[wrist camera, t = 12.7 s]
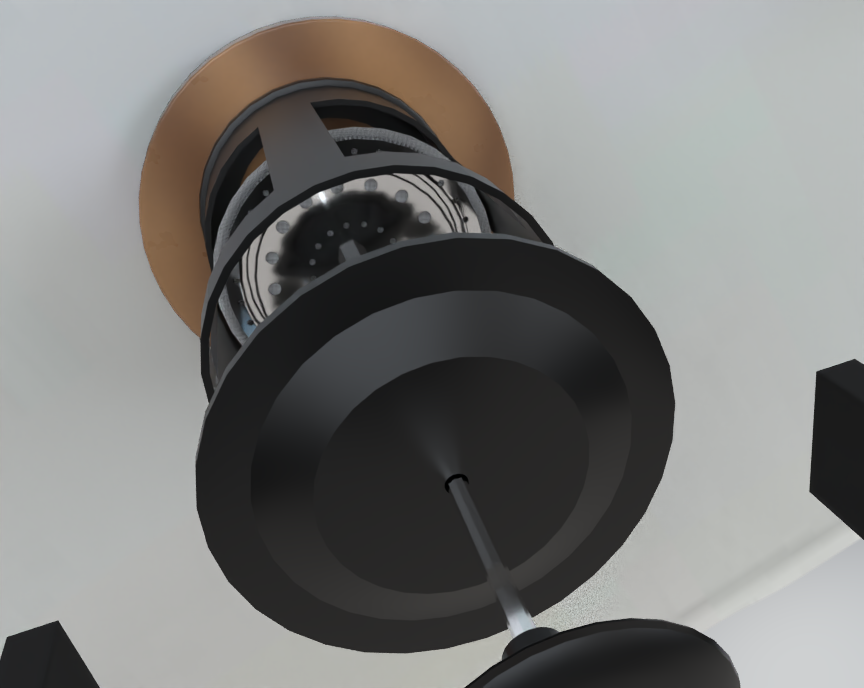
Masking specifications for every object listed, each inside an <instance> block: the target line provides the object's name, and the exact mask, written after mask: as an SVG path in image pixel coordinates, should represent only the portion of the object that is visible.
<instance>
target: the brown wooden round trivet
mask: <svg viewBox="0 0 864 688" xmlns="http://www.w3.org/2000/svg"><path fill="white" fill-rule="evenodd" d="M321 77H332V78H345V79H353V80H357V81H360V82H364V83H367V84H371V85H374V86H377V87H379V88H381V89H383V90H385V91H387V92H389V93H390V94H392V95H394V96H396V97H398V98H400V99H401V100H402V101H404V102H405V103H406V104H407V105H408V106H410V107H411V108H412V109H413V110H414V111H416V112H417V113H418V114H419V115H420V116H422V118H423V119H424V120H425V121H426V123H427V124H428V125H429V126H430V128H431V129H432V130H433V131H434V133H435V134H436V135H437V137H438V139H439V140H440V142H441V143H442V144H443V145H444V147H445V148H446V149H447V150H448V152H449V153H450V154H451V155H452V157H453V158H454V159H455V160H457V161H458V162H459V163H460V164H461V165H462V166H464V167H465V168H467V169H469V170H471V171H473V172H475V173H477V174H479V175H481V176H483V177H485V178H487V179H488V180H489V181H491V182H492V183H493V184H494V185H495V186H497V187H498V188H499V189H500V190H502V191H503V192H504V193H505V194H506V195H508V196H509V197H510V198H511V199H512V200H514V185H513V173H512V168H511V163H510V159H509V154H508V150H507V147H506V144H505V141H504V138H503V136H502V133H501V130H500V127H499V126H498V124H497V122H496V120H495V118H494V116H493V114H492V112H491V110H490V108H489V106H488V105H487V103H486V102H485V101H484V99H483V98H482V96H481V95H480V93H479V92H478V91H477V89H476V88H475V86H474V85H473V84H472V83H471V82H470V81H469V80H468V79H467V78H466V77H465V76H464V75H463V74H462V72H461V71H460V70H459V69H458V68H457V67H455V66H454V65H453V64H452V63H450V62H449V61H448V60H447V59H446V58H444V57H443V56H442V55H441V54H439V53H438V52H436V51H435V50H433V49H431V48H430V47H428V46H427V45H425V44H423V43H422V42H420V41H418V40H417V39H414V38H412V37H410V36H407V35H405V34H403V33H400V32H398V31H396V30H393V29H391V28H389V27H386V26H383V25H379V24H375V23H371V22H368V21H364V20H359V19H351V18H343V17H306V18H300V19H294V20H288V21H282V22H279V23H276V24H272V25H269V26H266V27H263V28H260V29H257V30H255V31H252V32H250V33H248V34H246V35H244V36H242V37H240V38H238V39H236V40H234V41H232V42H230V43H229V44H227V45H226V46H224V47H223V48H221V49H220V50H219V51H217V52H216V53H214V54H213V55H211V56H210V57H209V58H208V59H207V60H205V61H204V62H203V63H202V64H201V65H200V66H199V67H198V68H197V69H195V70H194V71H193V72H192V73H191V74H190V75H189V77H188V78H187V79H186V80H185V81H184V83H183V84H182V85H181V86H180V87H179V89H178V90H177V91H176V92H175V93H174V95H173V97H172V98H171V100H170V102H169V103H168V105H167V106H166V108H165V110H164V111H163V113H162V115H161V116H160V119H159V121H158V123H157V126H156V128H155V131H154V133H153V135H152V138H151V140H150V143H149V146H148V149H147V153H146V157H145V161H144V165H143V169H142V173H141V182H140V191H139V217H140V227H141V233H142V239H143V244H144V249H145V252H146V255H147V258H148V261H149V264H150V267H151V270H152V272H153V274H154V277H155V279H156V281H157V283H158V285H159V287H160V289H161V291H162V293H163V294H164V296H165V297H166V299H167V300H168V302H169V303H170V305H171V306H172V308H173V309H174V311H175V312H176V313H177V315H178V316H179V317H180V318H181V319H182V320H183V321H184V323H185V324H186V325H187V326H188V327H189V328H190V329H191V330H192V331H193V332H194V333H195V334H196V335H197V336H198V337H200V336H201V314H202V309H203V304H204V299H205V294H206V289H207V284H208V280H209V278H210V275H211V269H210V265H209V260H208V256H207V252H206V248H205V241H204V237H203V232H202V228H201V224H200V209H199V192H200V187H201V182H202V176H203V171H204V167H205V164H206V162H207V160H208V157H209V155H210V153H211V150H212V148H213V146H214V143H215V142H216V140H217V139H218V138H219V136H220V135H221V133H222V132H223V130H224V129H225V128H226V126H227V125H228V123H229V122H230V121H231V120H232V119H233V118H234V117H235V116H236V115H237V114H238V113H239V112H241V111H242V110H243V109H244V108H245V107H246V106H247V105H248V104H249V103H251V102H252V101H254V100H256V99H257V98H259V97H261V96H262V95H264V94H266V93H267V92H269V91H271V90H272V89H275V88H278V87H281V86H284V85H286V84H289V83H292V82H295V81H298V80H305V79H313V78H321ZM321 121H322V122H323V124H324V125H325V127H326V128H327V130H334V129H341V128H348V127H367V128H374V127H372V126H370V125H368V124H365V123H361V122H358V121H354V120H350V119H341V118H323V119H321ZM264 161H266V157H265V153H264V149H263V148H262V149H260V150H259V152H258V153H257V155H256V156H255V157H254V159H253V160H252V162H251V163H250V164H249V166H248V168H247V170H246V172H245V175H244V177H243V179H242V182H241V184H240V187H241V185H242V184H243V183H244V181H245V180H246V178H247V177H248V176H249V175H250V174H251V173H252V172H254V171H255V170H256V169H257V168H258V167H259V166H260V165H261V164H262V163H263V162H264ZM491 233H493V232H492V231H491ZM210 347H211V332H210Z"/></svg>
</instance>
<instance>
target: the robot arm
mask: <svg viewBox="0 0 864 688" xmlns="http://www.w3.org/2000/svg"><path fill="white" fill-rule="evenodd" d="M809 492H810V493H812V494H813V495H814V496H815V497H816V498H817V499H818V500H819V501H821V502H822V503H823V504H824V505H825V506H826V507H827V508H828V509H830V510H831V511H832V512H833V513H834V514H835V515H836V516H837V517H839V518H840V519H841V520H842V521H843V522H844V523H845V524H846V525H848V526H849V527H850V528H851V529H852V530H853V531H854V532H855V533H857V534H858V535H859V536H860V537H861V538H862V539H863V540H864V364H862V363H860V362H859V361H857V360H856V359H853V360H850V361H847V362H844V363H841V364H838V365H835V366H832V367H829V368H826V369H823V370H820V371H817V372H816V388H815V405H814V423H813V440H812V457H811V474H810V491H809ZM0 688H100V687H99V686H98V684H97V682H96V681H95V679H94V678H93V676H92V674H91V673H90V671H89V670H88V668H87V666H86V665H85V663H84V661H83V660H82V658H81V657H80V655H79V653H78V652H77V650H76V649H75V647H74V645H73V644H72V642H71V640H70V639H69V637H68V636H67V634H66V632H65V631H64V629H63V628H62V626H61V624H60V623H59V621H55V622H52V623H49V624H46V625H43V626H40V627H37V628H34V629H31V630H27V631H24V632H21V633H18V634H15V635H12V636H9V637H7V639H6V642H5V646H4V649H3V652H2V656H1V659H0Z"/></svg>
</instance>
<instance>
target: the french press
mask: <svg viewBox="0 0 864 688" xmlns="http://www.w3.org/2000/svg"><path fill="white" fill-rule="evenodd" d="M323 118H341V119H350V120H354V121H358V122H361V123H365V124H368V125H370V126H372V127H374V128H367V127H348V128H341V129H334V130H327V128H326V127H325V125H324V124H323V122H322V121H321V119H323ZM262 148H263V149H264V153H265V157H266V161H264V162H263V163H262V164H261V165H260V166H259V167H258V168H257V169H256V170H255V171H254V172H252V173H251V174H250V175H249V176H248V177H247V178H246V180H245V181H244V183H243V184H242V185H241V187H240V184H241V182H242V179H243V177H244V175H245V172H246V170H247V168H248V166H249V164H250V163H251V162H252V160H253V159H254V157H255V156H256V155H257V153H258V152H259V150H260V149H262ZM199 209H200V224H201V228H202V232H203V237H204V241H205V248H206V252H207V256H208V260H209V265H210V269H211V275H210V278H209V280H208V284H207V289H206V294H205V299H204V304H203V309H202V314H201V336H200V342H201V375H202V379H203V383H204V386H205V390H206V394H207V398H208V402H209V405H208V407H207V409H206V411H205V416H204V420H203V425H202V430H201V434H200V439H199V444H198V448H197V453H196V499H197V511H198V514H199V518H200V521H201V525H202V528H203V531H204V535H205V538H206V542H207V545H208V548H209V550H210V551H211V553H212V555H213V556H214V558H215V560H216V562H217V563H218V565H219V567H220V568H221V570H222V572H223V573H224V575H225V577H226V578H227V580H228V582H229V583H230V584H231V585H232V586H233V587H234V588H235V589H236V590H237V591H238V592H239V593H240V594H241V595H242V596H243V597H244V598H245V599H246V600H247V601H248V602H249V603H250V604H251V605H252V606H253V607H254V608H255V609H256V610H258V611H259V612H261V613H262V614H264V615H266V616H267V617H269V618H270V619H272V620H273V621H275V622H276V623H278V624H280V625H281V626H283V627H284V628H286V629H287V630H289V631H292V632H294V633H297V634H299V635H302V636H305V637H307V638H310V639H312V640H315V641H318V642H320V643H323V644H325V645H330V646H335V647H341V648H346V649H351V650H356V651H361V652H374V653H413V652H422V651H430V650H438V649H446V648H450V647H454V646H458V645H462V644H465V643H469V642H473V641H477V640H480V639H484V638H488V637H490V636H492V635H495V634H497V633H500V632H502V631H504V630H507V629H509V631H510V633H511V636H512V638H513V639H512V640H511V641H510V642H509V644H508V645H507V646H506V648H505V650H504V652H503V655H502V661H500V662H498V663H497V664H495V665H493V666H492V667H490V668H489V669H488V670H487V671H485V672H484V673H483V674H481V675H480V676H479V677H478V678H476V679H475V680H474V681H473V682H471V683H470V684H469V685H467V686H466V687H465V688H740V681H739V677H738V673H737V671H736V669H735V667H734V665H733V663H732V661H731V659H730V657H729V655H728V654H727V653H726V652H725V651H724V650H723V649H722V648H721V647H720V646H719V645H718V644H717V643H716V642H715V641H714V640H713V639H711V638H709V637H707V636H705V635H704V634H702V633H700V632H698V631H696V630H695V629H693V628H690V627H687V626H683V625H680V624H676V623H672V622H668V621H664V620H657V619H636V618H628V619H620V620H611V621H603V622H595V623H592V624H588V625H584V626H581V627H577V628H573V629H569V630H566V631H562V632H558V631H557V630H554V629H552V628H548V627H539V628H537V627H536V625H535V623H534V621H533V619H532V618H533V617H534V616H536V615H538V614H539V613H541V612H543V611H545V610H546V609H548V608H550V607H551V606H553V605H555V604H556V603H558V602H560V601H562V600H563V599H564V598H565V597H567V596H568V595H569V594H570V593H572V592H573V591H574V590H576V589H577V588H578V587H579V586H581V585H582V584H583V583H584V582H586V581H587V580H588V579H590V578H591V577H592V576H593V575H594V574H595V573H596V572H597V571H598V570H599V569H600V568H601V567H602V566H603V565H604V564H605V563H606V562H607V561H608V560H609V559H610V558H611V557H612V556H613V555H614V554H615V552H616V551H617V550H618V549H619V548H620V547H621V546H622V545H623V543H624V542H625V541H626V539H627V538H628V536H629V535H630V534H631V532H632V531H633V529H634V528H635V527H636V525H637V524H638V522H639V521H640V519H641V518H642V517H643V515H644V514H645V512H646V510H647V508H648V506H649V504H650V502H651V500H652V497H653V495H654V493H655V491H656V489H657V487H658V485H659V483H660V481H661V479H662V476H663V472H664V469H665V465H666V462H667V458H668V455H669V451H670V447H671V444H672V439H673V425H674V411H675V399H674V392H673V386H672V379H671V372H670V365H669V363H668V360H667V358H666V355H665V353H664V351H663V348H662V346H661V343H660V341H659V338H658V336H657V333H656V331H655V329H654V328H653V326H652V325H651V323H650V322H649V321H648V319H647V318H646V317H645V315H644V314H643V313H642V311H641V310H640V309H639V307H638V306H637V304H636V303H635V302H634V300H633V299H632V298H631V297H630V296H629V295H628V294H627V293H625V292H624V291H623V290H622V289H621V288H619V287H618V286H617V285H616V284H614V283H613V282H612V281H611V280H610V279H608V278H607V277H606V276H605V275H604V274H602V273H601V272H600V271H599V270H597V269H596V268H595V267H594V266H593V265H591V264H589V263H587V262H585V261H583V260H581V259H579V258H577V257H575V256H573V255H571V254H569V253H567V252H565V251H563V250H561V249H559V248H557V247H555V246H554V245H553V243H552V241H551V240H550V238H549V237H548V236H547V235H546V233H545V232H544V231H543V229H542V228H541V227H540V225H539V224H538V223H537V222H536V220H535V219H534V218H533V216H532V215H531V214H529V213H528V212H527V211H526V210H525V209H523V208H522V207H521V206H520V205H519V204H517V203H516V202H515V201H514V200H512V199H511V198H510V197H509V196H508V195H506V194H505V193H504V192H503V191H502V190H500V189H499V188H498V187H497V186H495V185H494V184H493V183H492V182H491V181H489V180H488V179H487V178H485V177H483V176H481V175H479V174H477V173H475V172H473V171H471V170H469V169H467V168H465V167H464V166H462V165H461V164H460V163H459V162H458V161H457V160H455V159H454V158H453V157H452V155H451V154H450V153H449V152H448V150H447V149H446V148H445V147H444V145H443V144H442V143H441V142H440V140H439V139H438V137H437V135H436V134H435V133H434V131H433V130H432V129H431V128H430V126H429V125H428V124H427V123H426V121H425V120H424V119H423V118H422V116H420V115H419V114H418V113H417V112H416V111H414V110H413V109H412V108H411V107H410V106H408V105H407V104H406V103H405V102H404V101H402V100H401V99H400V98H398V97H396V96H394V95H392V94H390V93H389V92H387V91H385V90H383V89H381V88H379V87H377V86H374V85H371V84H367V83H364V82H360V81H357V80H353V79H345V78H332V77H321V78H313V79H305V80H298V81H295V82H292V83H289V84H286V85H284V86H281V87H278V88H275V89H272V90H271V91H269V92H267V93H266V94H264V95H262V96H261V97H259V98H257V99H256V100H254V101H252V102H251V103H249V104H248V105H247V106H246V107H245V108H244V109H243V110H242V111H241V112H239V113H238V114H237V115H236V116H235V117H234V118H233V119H232V120H231V121H230V122H229V123H228V125H227V126H226V128H225V129H224V130H223V132H222V133H221V135H220V136H219V138H218V139H217V140H216V142H215V143H214V146H213V148H212V150H211V153H210V155H209V157H208V160H207V162H206V164H205V167H204V171H203V176H202V182H201V187H200V192H199ZM491 231H492V232H493V233H491ZM210 332H211V350H210Z"/></svg>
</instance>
